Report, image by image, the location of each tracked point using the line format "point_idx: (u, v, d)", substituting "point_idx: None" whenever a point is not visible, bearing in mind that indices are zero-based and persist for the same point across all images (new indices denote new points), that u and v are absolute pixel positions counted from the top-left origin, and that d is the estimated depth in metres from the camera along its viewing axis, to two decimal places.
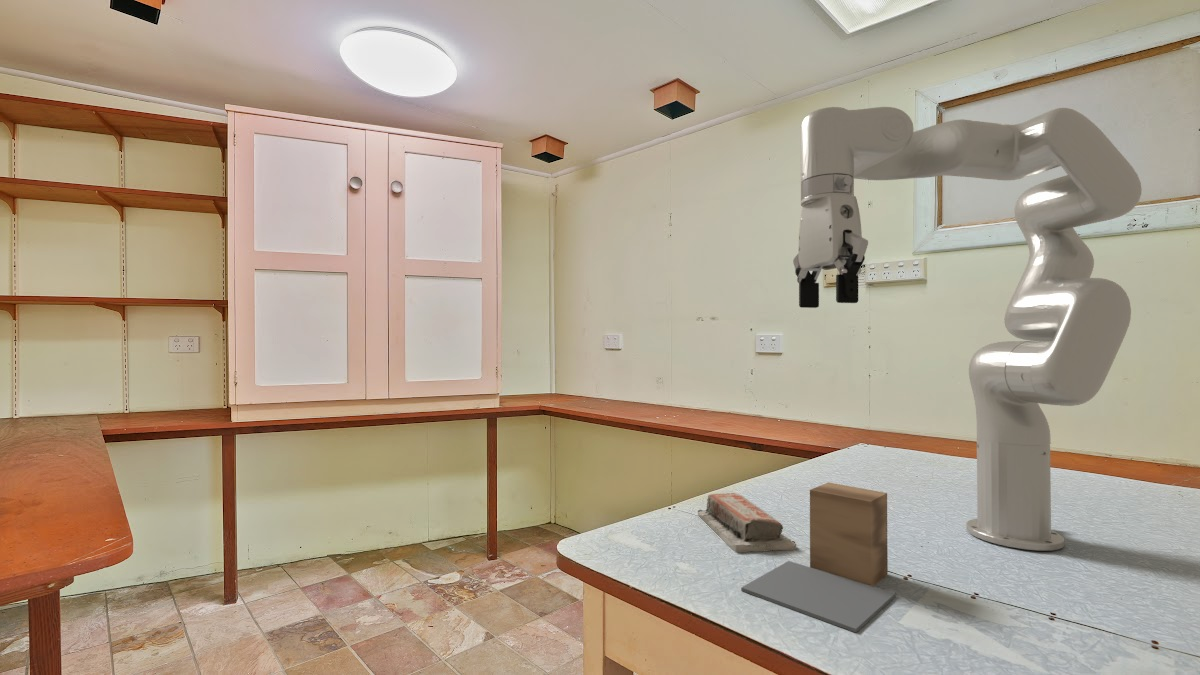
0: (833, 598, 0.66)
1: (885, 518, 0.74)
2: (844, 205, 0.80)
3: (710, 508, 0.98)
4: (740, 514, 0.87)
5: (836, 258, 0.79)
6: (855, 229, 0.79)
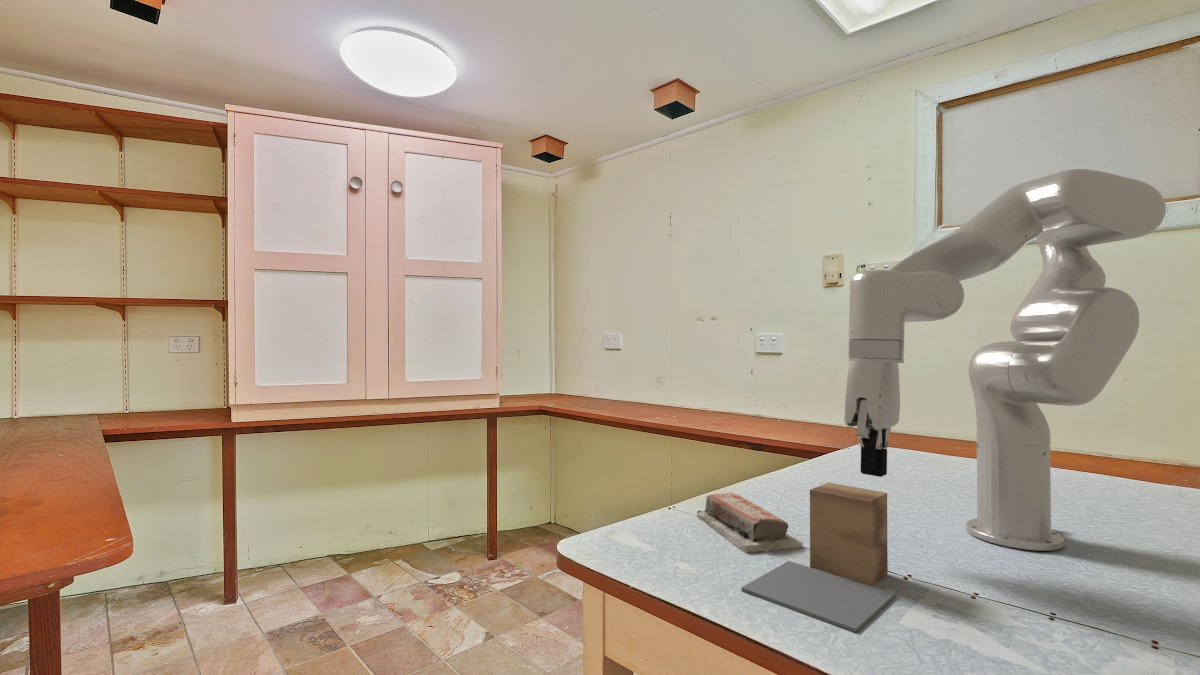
0: (833, 598, 0.66)
1: (885, 518, 0.74)
2: None
3: (710, 509, 0.97)
4: (746, 514, 0.86)
5: (889, 431, 0.83)
6: None
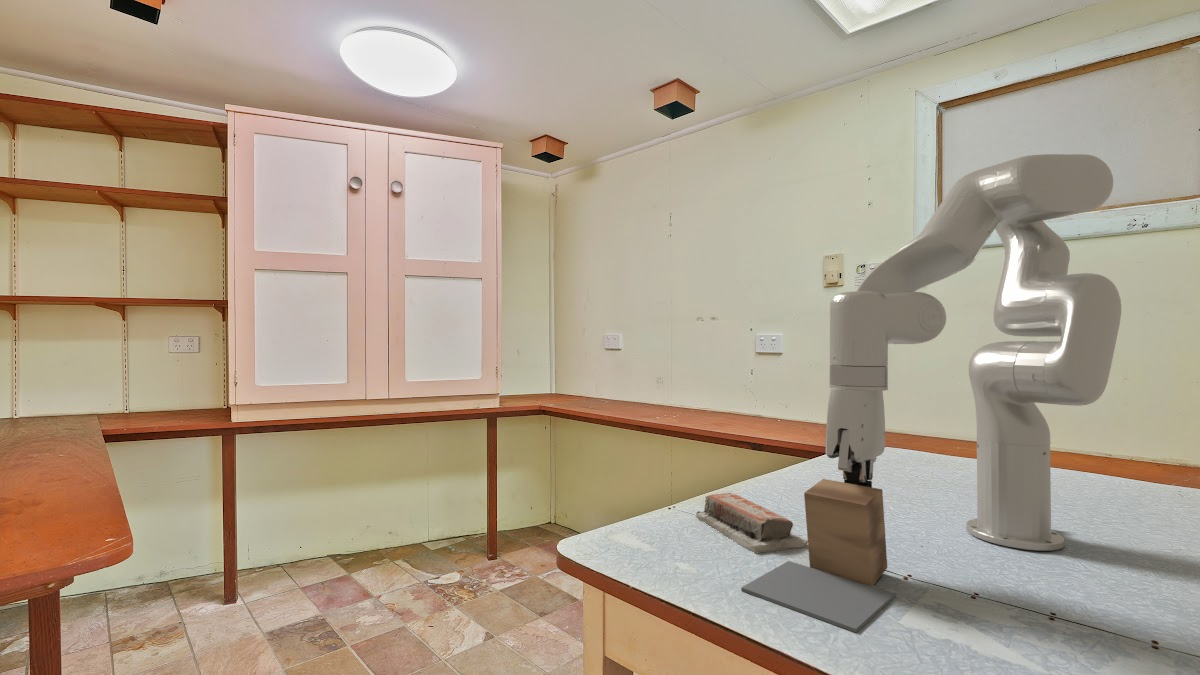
0: (833, 598, 0.66)
1: (882, 514, 0.73)
2: None
3: (709, 509, 0.97)
4: (752, 514, 0.86)
5: None
6: None
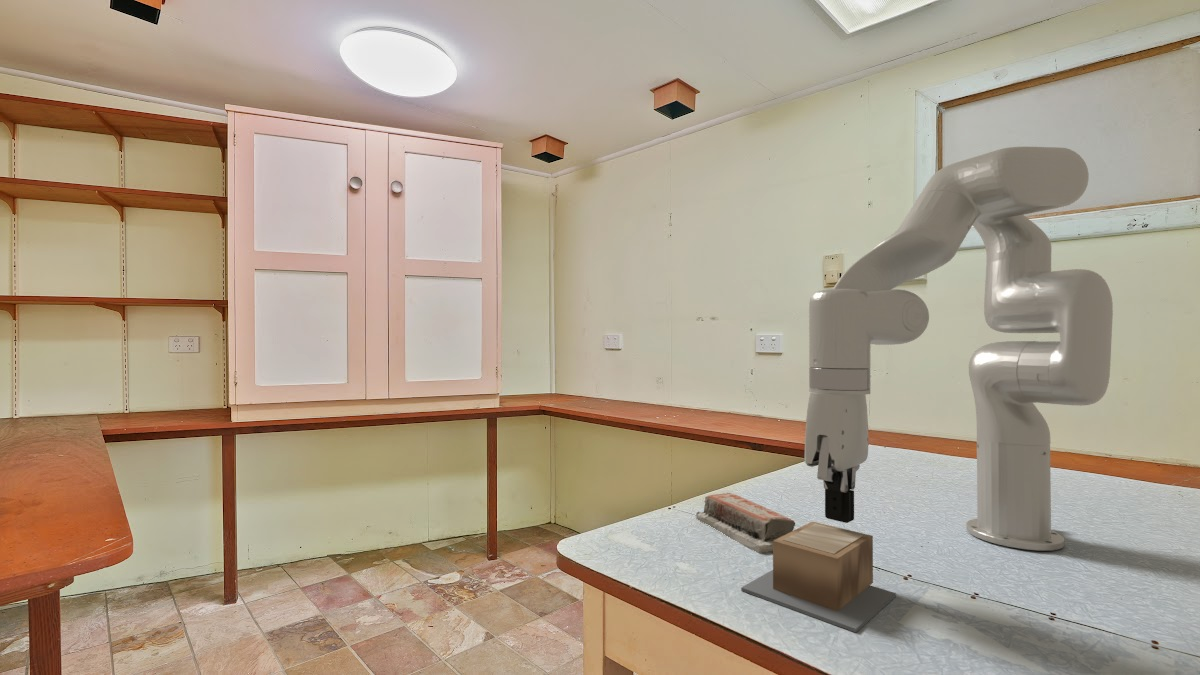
0: None
1: (848, 557, 0.65)
2: None
3: (709, 509, 0.97)
4: (754, 514, 0.87)
5: (856, 470, 0.73)
6: None
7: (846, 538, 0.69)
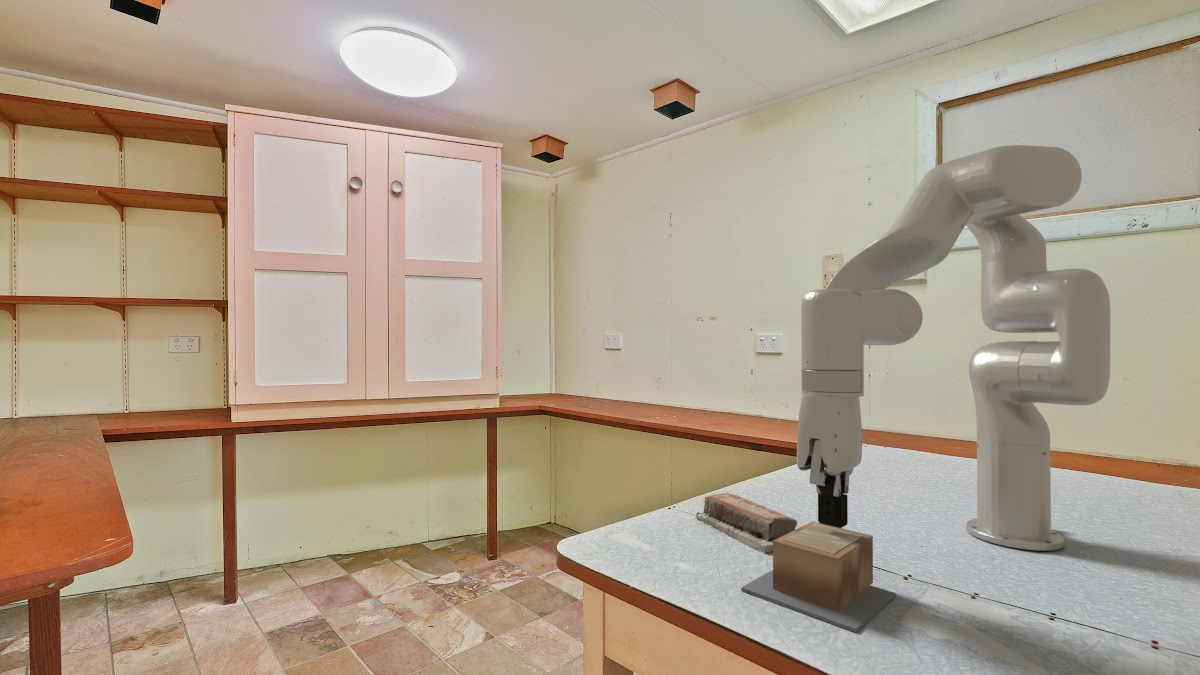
0: None
1: (848, 557, 0.65)
2: None
3: (709, 510, 0.97)
4: (757, 514, 0.87)
5: (849, 473, 0.72)
6: None
7: (846, 538, 0.69)
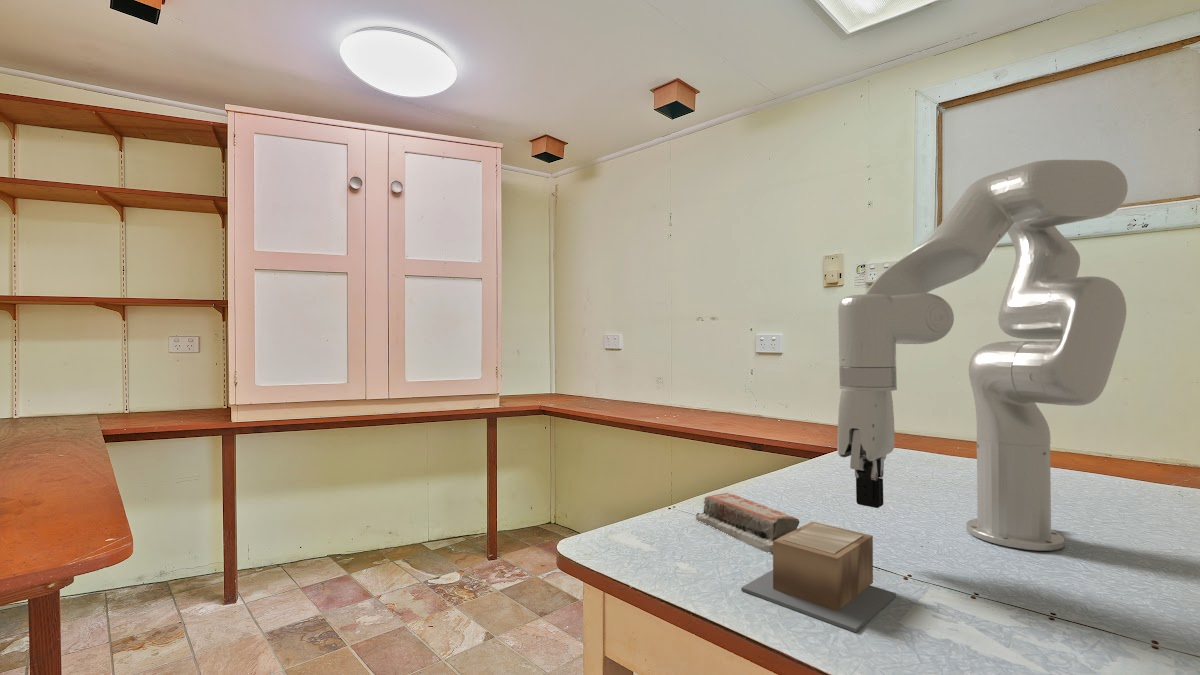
0: None
1: (848, 557, 0.65)
2: None
3: (709, 510, 0.96)
4: (760, 514, 0.87)
5: (884, 459, 0.80)
6: None
7: (846, 538, 0.69)
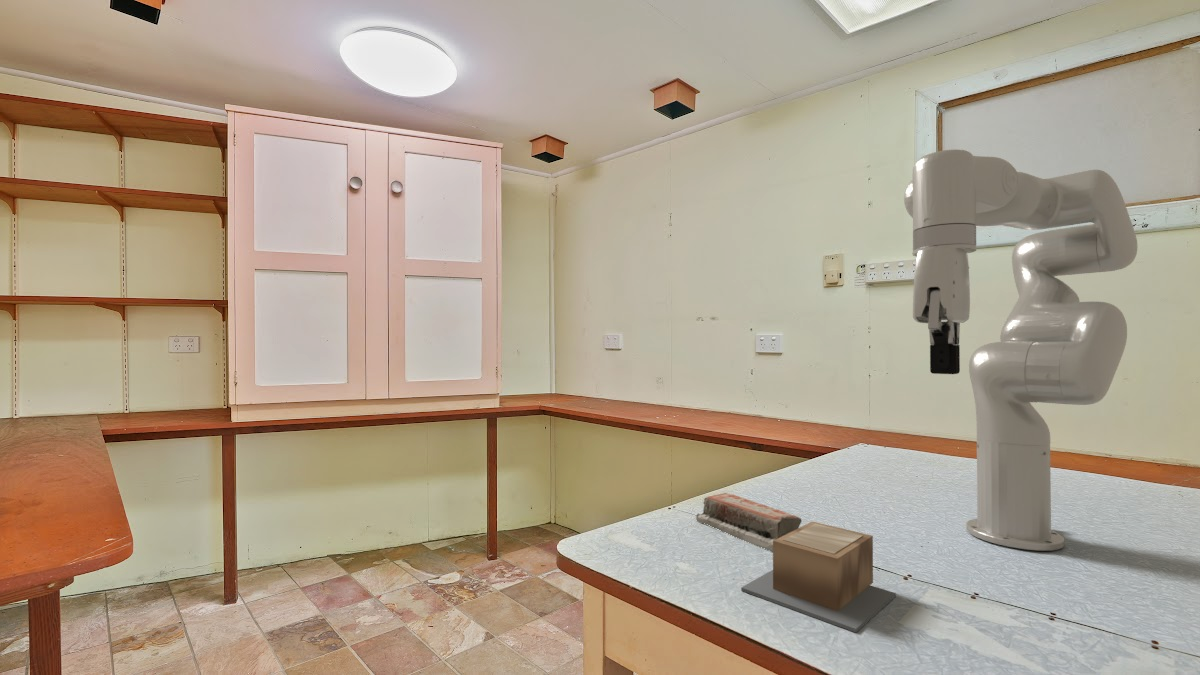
0: None
1: (848, 557, 0.65)
2: None
3: (710, 511, 0.96)
4: (764, 514, 0.87)
5: None
6: None
7: (846, 538, 0.69)
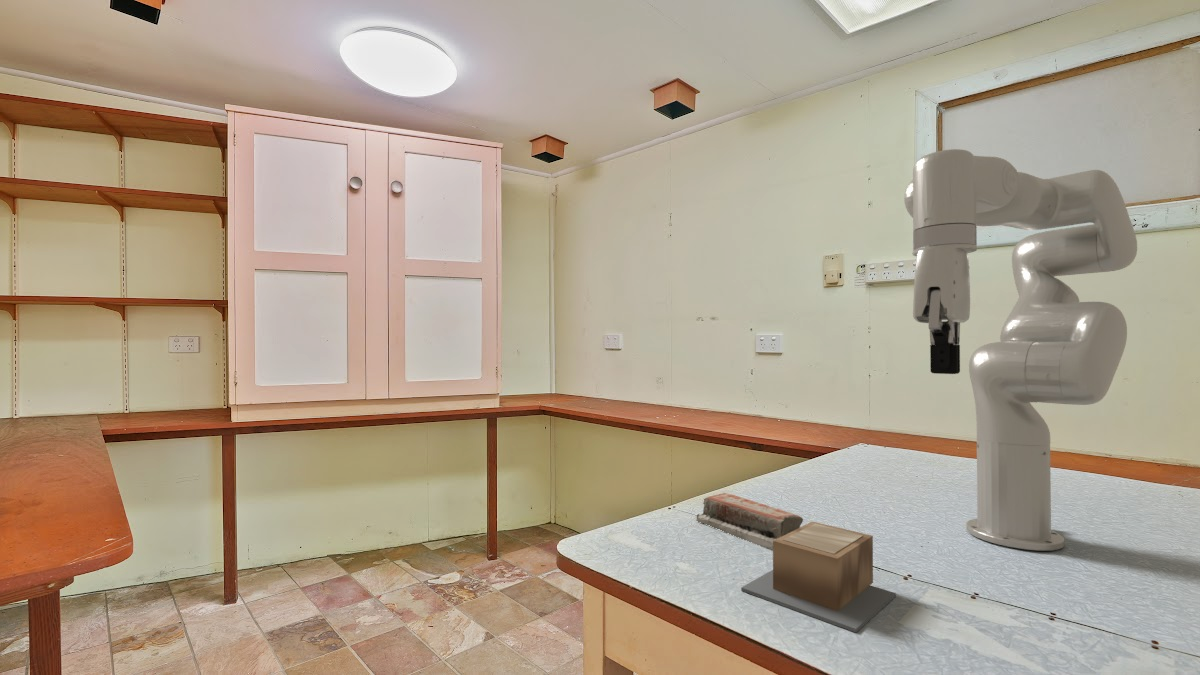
0: None
1: (848, 557, 0.65)
2: None
3: (710, 511, 0.96)
4: (766, 513, 0.87)
5: None
6: None
7: (846, 538, 0.69)
